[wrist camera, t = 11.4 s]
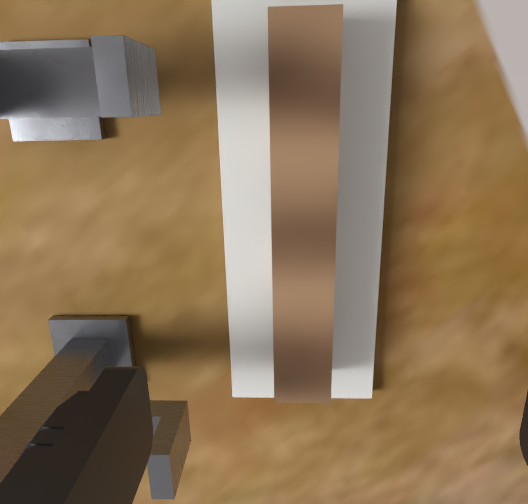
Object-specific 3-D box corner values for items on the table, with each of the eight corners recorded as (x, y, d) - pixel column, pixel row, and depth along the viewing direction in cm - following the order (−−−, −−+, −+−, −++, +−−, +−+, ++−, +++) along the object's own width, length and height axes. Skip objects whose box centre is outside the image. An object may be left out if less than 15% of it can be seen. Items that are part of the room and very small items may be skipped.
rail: (270, 20, 22) (267, 6, 19) (335, 18, 22) (343, 4, 19) (275, 370, 28) (274, 402, 25) (325, 370, 28) (330, 402, 25)
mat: (212, -19, 22) (210, -23, 21) (394, -26, 22) (398, -30, 21) (233, 389, 30) (232, 397, 29) (369, 390, 29) (371, 398, 28)
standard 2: (1, 43, 24) (-367, -37, 10) (188, 37, 23) (58, -55, 10) (19, 140, 25) (-279, 179, 12) (195, 136, 25) (91, 173, 11)
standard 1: (52, 315, 29) (-150, 498, 15) (208, 315, 28) (139, 504, 15) (65, 382, 30) (-108, 600, 17) (212, 383, 30) (154, 608, 16)
